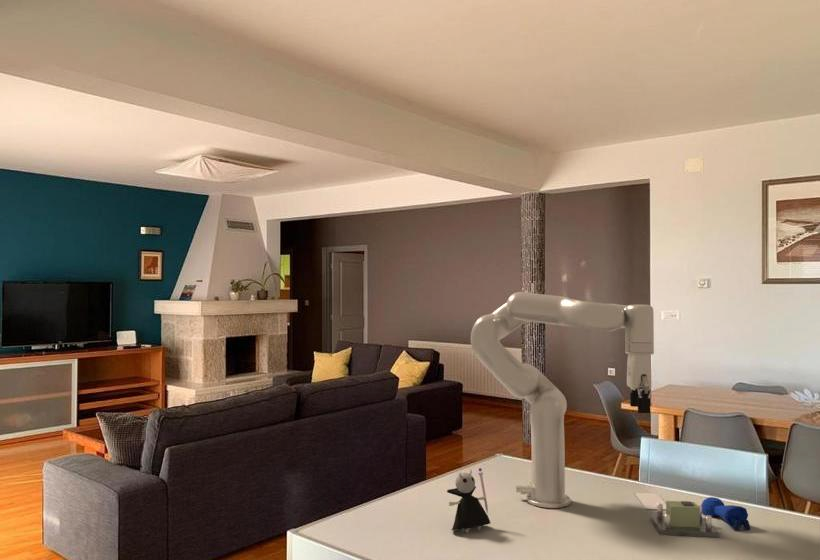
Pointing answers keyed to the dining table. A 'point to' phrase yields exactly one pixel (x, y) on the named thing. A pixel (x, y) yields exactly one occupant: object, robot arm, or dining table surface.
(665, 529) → the chassis
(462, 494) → the toy
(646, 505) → the smartphone
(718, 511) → the toy
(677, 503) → the block
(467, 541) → the dining table surface
